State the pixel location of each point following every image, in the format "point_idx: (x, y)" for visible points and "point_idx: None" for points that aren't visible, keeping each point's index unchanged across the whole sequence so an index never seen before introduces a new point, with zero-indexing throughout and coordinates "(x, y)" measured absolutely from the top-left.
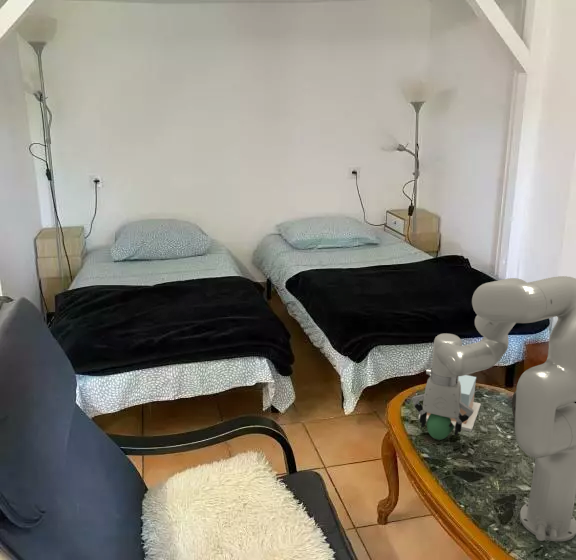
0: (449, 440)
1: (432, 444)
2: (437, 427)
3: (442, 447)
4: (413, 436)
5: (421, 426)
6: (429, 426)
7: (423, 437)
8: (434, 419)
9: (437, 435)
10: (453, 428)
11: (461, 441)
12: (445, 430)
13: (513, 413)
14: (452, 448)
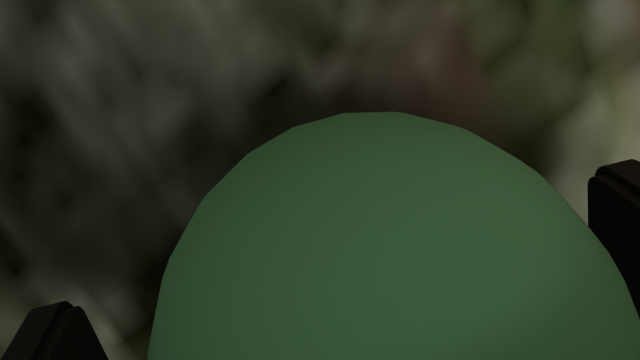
0: None
1: (333, 32)
2: (337, 186)
3: (187, 56)
4: (620, 39)
5: (632, 162)
6: (516, 167)
7: (497, 104)
8: (512, 326)
9: (303, 125)
10: None
11: None
12: (183, 253)
13: None
14: (70, 124)
